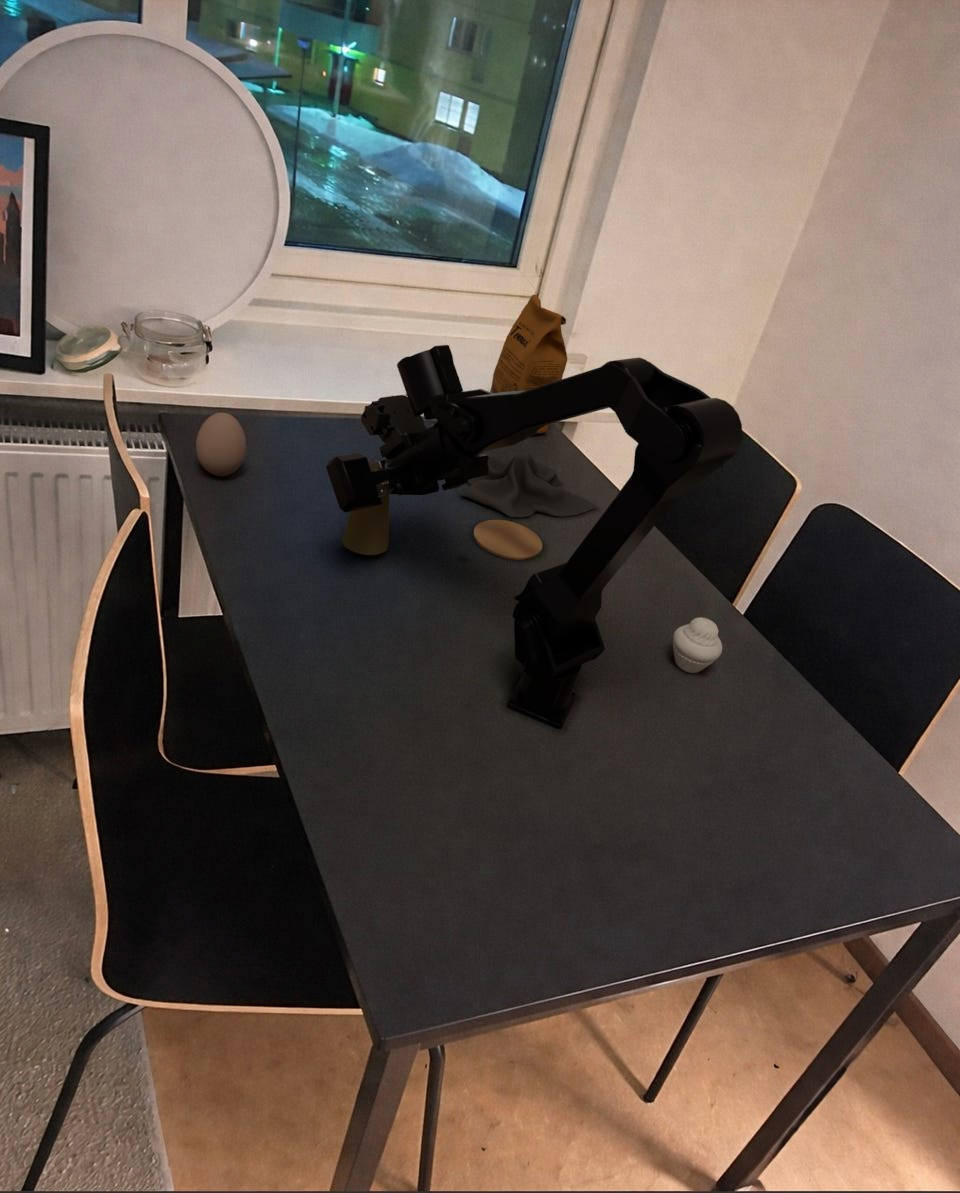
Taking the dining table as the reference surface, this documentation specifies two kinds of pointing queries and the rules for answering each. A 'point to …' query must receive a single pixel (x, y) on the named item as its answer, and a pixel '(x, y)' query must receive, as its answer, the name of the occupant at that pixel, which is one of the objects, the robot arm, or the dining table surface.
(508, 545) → the cork coaster
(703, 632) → the muffin
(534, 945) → the dining table surface
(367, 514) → the pepper shaker
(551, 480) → the cloth
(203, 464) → the egg
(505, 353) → the coffee package
